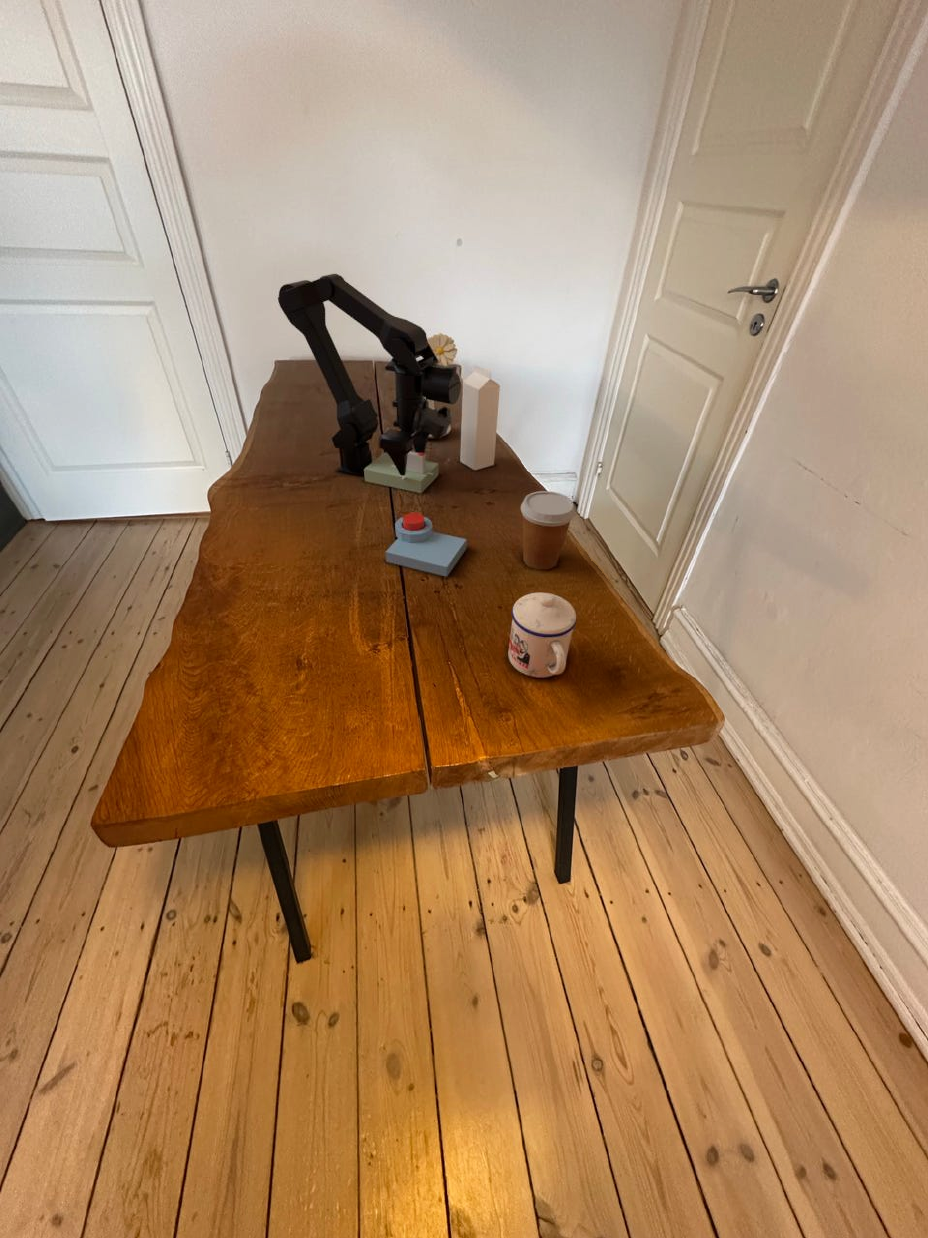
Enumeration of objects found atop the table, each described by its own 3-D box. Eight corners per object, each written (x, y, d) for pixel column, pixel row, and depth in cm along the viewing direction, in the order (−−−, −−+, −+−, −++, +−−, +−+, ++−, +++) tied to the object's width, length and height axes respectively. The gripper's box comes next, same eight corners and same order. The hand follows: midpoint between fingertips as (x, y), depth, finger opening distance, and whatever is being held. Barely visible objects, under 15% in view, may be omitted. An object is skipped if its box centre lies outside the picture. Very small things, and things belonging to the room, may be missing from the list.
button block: (378, 560, 100) (377, 541, 98) (405, 530, 109) (405, 512, 106) (446, 577, 97) (447, 558, 95) (469, 545, 105) (469, 527, 103)
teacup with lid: (498, 643, 84) (504, 582, 77) (552, 633, 87) (563, 573, 79) (526, 700, 76) (536, 637, 68) (585, 688, 78) (602, 626, 70)
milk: (474, 471, 131) (479, 374, 116) (459, 461, 134) (462, 366, 120) (494, 465, 134) (501, 369, 119) (479, 456, 137) (484, 362, 123)
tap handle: (398, 468, 123) (397, 450, 120) (401, 466, 124) (400, 448, 121) (422, 473, 122) (422, 455, 119) (425, 471, 123) (425, 453, 120)
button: (399, 529, 102) (399, 520, 101) (408, 519, 105) (408, 511, 104) (419, 533, 101) (419, 525, 100) (427, 523, 104) (427, 515, 103)
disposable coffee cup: (532, 580, 97) (541, 520, 90) (505, 553, 104) (511, 495, 96) (575, 567, 101) (587, 509, 93) (546, 542, 107) (555, 485, 100)
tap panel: (362, 483, 124) (361, 470, 122) (384, 464, 132) (384, 451, 130) (423, 496, 120) (423, 483, 118) (442, 476, 128) (443, 463, 126)
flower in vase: (400, 437, 144) (396, 333, 128) (419, 423, 153) (418, 323, 136) (446, 446, 141) (448, 340, 125) (462, 431, 149) (466, 330, 133)
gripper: (427, 416, 104) (428, 491, 114) (462, 387, 117) (460, 457, 127) (375, 406, 106) (380, 481, 116) (415, 380, 120) (416, 448, 130)
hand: (411, 466), depth 122 cm, fingers open, 9 cm apart
